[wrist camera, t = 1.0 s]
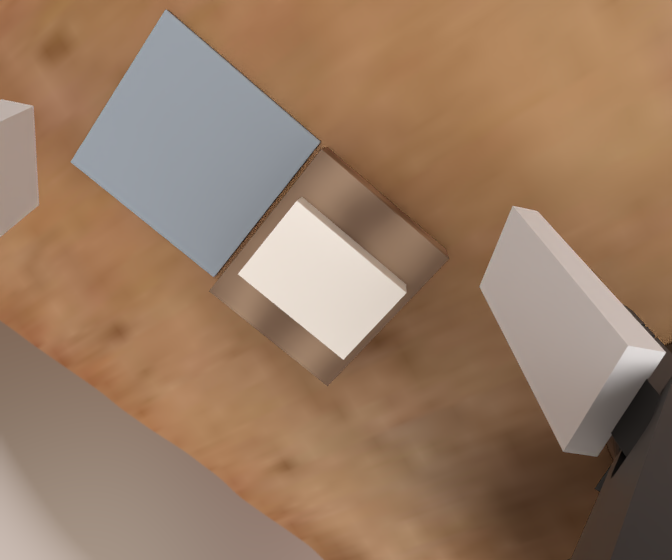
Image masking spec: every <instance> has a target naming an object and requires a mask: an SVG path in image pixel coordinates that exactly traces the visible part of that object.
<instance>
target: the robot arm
mask: <svg viewBox="0 0 672 560" xmlns="http://www.w3.org/2000/svg"><path fill="white" fill-rule="evenodd" d="M38 205H39V195H38V177H37V159H36V140H35V122H34V106H31V105H26V104H22V103H17V102H12V101H7V100H0V237H1V236H2V235H3V234H5V233H6V232H7V231H8V230H9V229H11V228H12V227H13V226H14V225H15V224H17V223H18V222H19V221H20V220H21V219H23V218H24V217H25V216H26V215H27V214H29V213H30V212H31V211H32V210H34V209H35V208H36V207H37V206H38ZM479 287H480V289H481V291H482V293H483V295H484V297H485V299H486V301H487V303H488V304H489V306H490V308H491V310H492V312H493V314H494V316H495V318H496V320H497V322H498V324H499V326H500V328H501V330H502V332H503V334H504V336H505V338H506V340H507V342H508V344H509V346H510V348H511V350H512V352H513V354H514V356H515V358H516V360H517V362H518V364H519V366H520V368H521V370H522V372H523V373H524V375H525V377H526V379H527V381H528V383H529V385H530V387H531V389H532V391H533V393H534V395H535V397H536V399H537V401H538V403H539V405H540V407H541V409H542V411H543V413H544V415H545V417H546V419H547V421H548V423H549V425H550V427H551V429H552V431H553V433H554V435H555V437H556V439H557V440H558V442H559V444H560V446H561V448H562V450H563V452H568V453H575V454H582V455H588V456H595V457H598V455H599V454H600V452H601V450H602V449H603V447H604V446H605V444H606V443H607V446H608V450H609V452H610V454H611V456H612V458H613V460H614V461H613V463H612V464H611V466H610V467H609V469H608V470H607V472H606V473H605V475H604V476H603V477H602V479H601V480H600V482H599V483H598V485H597V486H596V488H595V489H596V490H598V491H599V492H600V493H599V495H598V497H597V500H596V502H595V504H594V507H593V509H592V511H591V514H590V516H589V518H588V521H587V523H586V525H585V527H584V530H583V532H582V534H581V537H580V539H579V541H578V544H577V546H576V548H575V551H574V553H573V555H572V558H570V559H568V560H672V344H669V345H667V346H664V344H663V343H662V342H661V341H660V340H659V339H658V338H655V335H654V334H653V333H652V331H651V330H650V329H649V328H648V327H645V324H644V323H643V322H642V321H641V320H640V318H639V317H638V316H637V315H636V314H635V313H634V312H633V311H632V310H630V309H629V308H628V307H626V306H625V305H623V304H622V303H621V302H620V301H619V300H618V299H617V298H616V297H615V296H614V295H613V293H612V292H611V291H610V290H609V289H608V288H607V287H606V286H605V285H604V284H603V282H602V281H601V280H600V279H599V278H598V277H597V276H596V275H595V274H594V273H593V271H592V270H591V269H590V268H589V267H588V266H587V265H586V264H585V263H584V262H583V260H582V259H581V258H580V257H579V256H578V255H577V254H576V253H575V252H574V251H573V250H572V248H571V247H570V246H569V245H568V244H567V243H566V242H565V241H564V240H563V239H562V237H561V236H560V235H559V234H558V233H557V232H556V231H555V230H554V229H553V228H552V226H551V225H550V224H549V223H548V222H547V221H546V220H545V219H544V218H543V217H542V215H541V214H540V213H539V212H538V211H535V210H530V209H526V208H521V207H516V206H512V209H511V211H510V214H509V216H508V219H507V221H506V223H505V226H504V228H503V231H502V233H501V235H500V238H499V240H498V243H497V245H496V248H495V250H494V252H493V255H492V257H491V260H490V262H489V265H488V267H487V269H486V272H485V274H484V277H483V279H482V282H481V284H480V286H479Z"/></svg>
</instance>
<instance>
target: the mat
mask: <svg viewBox="0 0 672 560" xmlns="http://www.w3.org/2000/svg"><path fill="white" fill-rule="evenodd" d="M320 142H321V141H320V140H318V139H317V138H316V137H315V136H314V135H313V134H311V133H310V132H309V131H308V130H307V129H306V128H304V127H303V126H302V125H301V124H300V123H299V122H297V121H296V120H295V119H294V118H293V117H292V116H291V115H289V114H288V113H287V112H286V111H285V110H284V109H282V108H281V107H280V106H279V105H278V104H277V103H275V102H274V101H273V100H272V99H271V98H270V97H268V96H267V95H266V94H265V93H264V92H263V91H261V90H260V89H259V88H258V87H257V86H256V85H254V84H253V83H252V82H251V81H250V80H249V79H247V78H246V77H245V76H244V75H243V74H242V73H241V72H239V71H238V70H237V69H236V68H235V67H234V66H232V65H231V64H230V63H229V62H228V61H227V60H225V59H224V58H223V57H222V56H221V55H220V54H218V53H217V52H216V51H215V50H214V49H213V48H211V47H210V46H209V45H208V44H207V43H206V42H204V41H203V40H202V39H201V38H200V37H199V36H197V35H196V34H195V33H194V32H193V31H192V30H190V29H189V28H188V27H187V26H186V25H185V24H184V23H182V22H181V21H180V20H179V19H178V18H177V17H175V16H174V15H173V14H172V13H171V12H170V11H168V10H165V11H164V13H163V14H162V16H161V18H160V19H159V21H158V22H157V24H156V26H155V27H154V29H153V31H152V32H151V34H150V35H149V37H148V39H147V40H146V42H145V43H144V45H143V47H142V48H141V50H140V51H139V53H138V55H137V56H136V58H135V59H134V61H133V63H132V64H131V66H130V67H129V69H128V71H127V72H126V74H125V75H124V77H123V79H122V80H121V82H120V84H119V85H118V87H117V88H116V90H115V92H114V93H113V95H112V96H111V98H110V100H109V101H108V103H107V104H106V106H105V108H104V109H103V111H102V112H101V114H100V116H99V117H98V119H97V120H96V122H95V124H94V125H93V127H92V128H91V130H90V132H89V133H88V135H87V137H86V138H85V140H84V141H83V143H82V145H81V146H80V148H79V149H78V151H77V153H76V154H75V156H74V157H73V159H72V161H71V163H73V164H74V165H75V166H76V167H78V168H79V169H80V170H81V171H83V172H84V173H85V174H86V175H87V176H89V177H90V178H91V179H92V180H94V181H95V182H96V183H97V184H99V185H100V186H101V187H102V188H104V189H105V190H106V191H107V192H109V193H110V194H111V195H112V196H114V197H115V198H116V199H117V200H118V201H120V202H121V203H122V204H123V205H125V206H126V207H127V208H128V209H130V210H131V211H132V212H133V213H135V214H136V215H137V216H138V217H140V218H141V219H142V220H143V221H145V222H146V223H147V224H148V225H150V226H151V227H152V228H153V229H154V230H156V231H157V232H158V233H159V234H161V235H162V236H163V237H164V238H166V239H167V240H168V241H169V242H171V243H172V244H173V245H174V246H176V247H177V248H178V249H179V250H181V251H182V252H183V253H184V254H185V255H187V256H188V257H189V258H190V259H192V260H193V261H194V262H195V263H197V264H198V265H199V266H200V267H202V268H203V269H204V270H205V271H207V272H208V273H209V274H210V275H212V276H213V277H215V276H216V275H217V273H218V272H219V271H220V269H221V268H222V267H223V266H224V264H225V263H226V262H227V261H228V259H229V258H230V257H231V255H232V254H233V253H234V252H235V250H236V249H237V248H238V247H239V245H240V244H241V243H242V242H243V240H244V239H245V238H246V236H247V235H248V234H249V233H250V231H251V230H252V229H253V228H254V226H255V225H256V224H257V222H258V221H259V220H260V219H261V217H262V216H263V215H264V214H265V212H266V211H267V210H268V209H269V207H270V206H271V205H272V203H273V202H274V201H275V200H276V198H277V197H278V196H279V195H280V193H281V192H282V191H283V189H284V188H285V187H286V186H287V184H288V183H289V182H290V181H291V179H292V178H293V177H294V175H295V174H296V173H297V172H298V170H299V169H300V168H301V167H302V165H303V164H304V163H305V162H306V160H307V159H308V158H309V156H310V155H311V154H312V153H313V151H314V150H315V149H316V148H317V146H318V145H319V144H320Z"/></svg>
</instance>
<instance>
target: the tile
mask: <svg viewBox="0 0 672 560" xmlns="http://www.w3.org/2000/svg"><path fill="white" fill-rule="evenodd" d="M238 275H239V276H241V277H242V278H243V279H244V280H246V281H247V282H248V283H249V284H251V285H252V286H253V287H254V288H255V289H257V290H258V291H259V292H260V293H262V294H263V295H264V296H265V297H267V298H268V299H269V300H270V301H271V302H273V303H274V304H275V305H276V306H278V307H279V308H280V309H281V310H283V311H284V312H285V313H286V314H288V315H289V316H290V317H291V318H292V319H294V320H295V321H296V322H297V323H299V324H300V325H301V326H302V327H304V328H305V329H306V330H307V331H308V332H310V333H311V334H312V335H313V336H315V337H316V338H317V339H318V340H320V341H321V342H322V343H323V344H324V345H326V346H327V347H328V348H329V349H331V350H332V351H333V352H334V353H336V354H337V355H338V356H339V357H341V358H342V359H343V360H344V359H345V357H346V356H347V355H348V354H349V353H350V352H351V351H352V350H353V349H354V348H355V347H356V346H357V345H358V344H359V343H360V342H361V341H362V339H363V338H364V337H365V336H366V335H367V334H368V333H369V332H370V331H371V330H372V329H373V328H374V327H375V326H376V325H377V324H378V323H379V322H380V320H381V319H382V318H383V317H384V316H385V315H386V314H387V313H388V312H389V311H390V310H391V309H392V308H393V307H394V306H395V305H396V304H397V302H398V301H399V300H400V299H401V298H402V297H403V296H404V295H405V294H406V293H407V291H406V284H405V283H404V282H403V281H402V280H400V279H399V278H398V277H397V276H396V275H394V274H393V273H392V272H391V271H390V270H388V269H387V268H386V267H385V266H384V265H383V264H381V263H380V262H379V261H378V260H377V259H375V258H374V257H373V256H372V255H371V254H369V253H368V252H367V251H366V250H365V249H364V248H362V247H361V246H360V245H359V244H358V243H356V242H355V241H354V240H353V239H352V238H350V237H349V236H348V235H347V234H346V233H345V232H343V231H342V230H341V229H340V228H339V227H337V226H336V225H335V224H334V223H333V222H331V221H330V220H329V219H328V218H327V217H326V216H324V215H323V214H322V213H321V212H320V211H318V210H317V209H316V208H315V207H314V206H313V205H311V204H310V203H309V202H308V201H307V200H305V199H304V198H303V197H301V198H300V199H298V200H297V201H296V202H295V204H294V205H293V206H292V207H291V208H290V210H289V211H288V212H287V213H286V215H285V216H284V217H283V218H282V220H281V221H280V222H279V223H278V225H277V226H276V227H275V228H274V230H273V231H272V232H271V233H270V235H269V236H268V237H267V238H266V240H265V241H264V242H263V243H262V245H261V246H260V247H259V248H258V250H257V251H256V252H255V253H254V255H253V256H252V257H251V258H250V260H249V261H248V262H247V263H246V264H245V266H244V267H243V268H242V269H241V271H240V272H239V273H238Z"/></svg>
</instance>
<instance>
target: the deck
mask: <svg viewBox="0 0 672 560" xmlns="http://www.w3.org/2000/svg"><path fill="white" fill-rule="evenodd" d="M301 197H303V198H304V199H305V200H307V201H308V202H309V203H310V204H311V205H313V206H314V207H315V208H316V209H317V210H318V211H320V212H321V213H322V214H323V215H324V216H326V217H327V218H328V219H329V220H330V221H331V222H333V223H334V224H335V225H336V226H337V227H339V228H340V229H341V230H342V231H343V232H345V233H346V234H347V235H348V236H349V237H350V238H352V239H353V240H354V241H355V242H356V243H358V244H359V245H360V246H361V247H362V248H364V249H365V250H366V251H367V252H368V253H369V254H371V255H372V256H373V257H374V258H375V259H377V260H378V261H379V262H380V263H381V264H383V265H384V266H385V267H386V268H387V269H388V270H390V271H391V272H392V273H393V274H394V275H396V276H397V277H398V278H399V279H400V280H402V281H403V282H404V283H405V284H406V291H407V293H406V294H405V295H404V296H403V297H402V298H401V299H400V300H399V301H398V302H397V304H396V305H395V306H394V307H393V308H392V309H391V310H390V311H389V312H388V313H387V314H386V315H385V316H384V317H383V318H382V319H381V320H380V322H379V323H378V324H377V325H376V326H375V327H374V328H373V329H372V330H371V331H370V332H369V333H368V334H367V335H366V336H365V337H364V338H363V339H362V341H361V342H360V343H359V344H358V345H357V346H356V347H355V348H354V349H353V350H352V351H351V352H350V353H349V354H348V355H347V356H346V357H345V359H344V360H343V359H342V358H341V357H339V356H338V355H337V354H336V353H334V352H333V351H332V350H331V349H329V348H328V347H327V346H326V345H324V344H323V343H322V342H321V341H320V340H318V339H317V338H316V337H315V336H313V335H312V334H311V333H310V332H308V331H307V330H306V329H305V328H304V327H302V326H301V325H300V324H299V323H297V322H296V321H295V320H294V319H292V318H291V317H290V316H289V315H288V314H286V313H285V312H284V311H283V310H281V309H280V308H279V307H278V306H276V305H275V304H274V303H273V302H271V301H270V300H269V299H268V298H267V297H265V296H264V295H263V294H262V293H260V292H259V291H258V290H257V289H255V288H254V287H253V286H252V285H251V284H249V283H248V282H247V281H246V280H244V279H243V278H242V277H241V276H239V275H238V273H239V272H240V271H241V269H242V268H243V267H244V266H245V264H246V263H247V262H248V261H249V260H250V258H251V257H252V256H253V255H254V253H255V252H256V251H257V250H258V248H259V247H260V246H261V245H262V243H263V242H264V241H265V240H266V238H267V237H268V236H269V235H270V233H271V232H272V231H273V230H274V228H275V227H276V226H277V225H278V223H279V222H280V221H281V220H282V218H283V217H284V216H285V215H286V213H287V212H288V211H289V210H290V208H291V207H292V206H293V205H294V204H295V202H296V201H297V200H298V199H300V198H301ZM448 259H449V257H448V254H447V251H446V249H445V248H444V247H443V246H442V245H441V244H439V243H438V242H437V241H436V240H435V239H434V238H432V237H431V236H430V235H429V234H428V233H427V232H425V231H424V230H423V229H422V228H421V227H420V226H418V225H417V224H416V223H415V222H414V221H413V220H411V219H410V218H409V217H408V216H407V215H406V214H405V213H403V212H402V211H401V210H400V209H399V208H398V207H396V206H395V205H394V204H393V203H392V202H391V201H389V200H388V199H387V198H386V197H385V196H384V195H382V194H381V193H380V192H379V191H378V190H377V189H375V188H374V187H373V186H372V185H371V184H370V183H368V182H367V181H366V180H365V179H364V178H363V177H361V176H360V175H359V174H358V173H357V172H356V171H354V170H353V169H352V168H351V167H350V166H349V165H348V164H346V163H345V162H344V161H343V160H342V159H341V158H339V157H338V156H337V155H336V154H335V153H334V152H332V151H331V150H330V149H329V148H328V147H326V148H323V149H321V151H320V152H319V153H318V154H317V156H316V157H315V158H314V159H313V161H312V162H311V163H310V164H309V166H308V167H307V168H306V169H305V171H304V172H303V173H302V175H301V176H300V177H299V178H298V180H297V181H296V182H295V183H294V185H293V186H292V187H291V188H290V190H289V191H288V192H287V193H286V195H285V196H284V197H283V199H282V200H281V201H280V202H279V204H278V205H277V206H276V207H275V209H274V210H273V211H272V212H271V214H270V215H269V216H268V217H267V219H266V220H265V221H264V223H263V224H262V225H261V226H260V228H259V229H258V230H257V231H256V233H255V234H254V235H253V236H252V238H251V239H250V240H249V241H248V243H247V244H246V245H245V247H244V248H243V249H242V250H241V252H240V253H239V254H238V255H237V257H236V258H235V259H234V260H233V262H232V263H231V264H230V265H229V267H228V268H227V269H226V271H225V272H224V273H223V274H222V276H221V277H220V278H219V279H218V281H217V282H216V283H215V284H214V286H213V287H212V288H211V289H210V291H209V292H211V293H212V294H213V295H214V296H216V297H217V298H218V299H219V300H221V301H222V302H223V303H224V304H226V305H227V306H228V307H229V308H231V309H232V310H233V311H234V312H236V313H237V314H238V315H239V316H241V317H242V318H243V319H244V320H246V321H247V322H248V323H249V324H251V325H252V326H253V327H254V328H256V329H257V330H258V331H259V332H261V333H262V334H263V335H264V336H266V337H267V338H268V339H269V340H271V341H272V342H273V343H274V344H276V345H277V346H278V347H279V348H280V349H282V350H283V351H284V352H285V353H287V354H288V355H289V356H290V357H292V358H293V359H294V360H295V361H297V362H298V363H299V364H300V365H302V366H303V367H304V368H305V369H307V370H308V371H309V372H310V373H312V374H313V375H314V376H315V377H317V378H318V379H319V380H320V381H322V382H323V383H324V384H325V385H327V386H328V385H329V384H330V383H331V382H332V381H333V380H334V379H335V378H336V377H337V376H338V375H339V374H340V373H341V372H342V371H343V370H344V368H345V367H346V366H347V365H348V364H349V363H350V362H351V361H352V360H353V359H354V358H355V357H356V356H357V355H358V354H359V353H360V352H361V351H362V350H363V349H364V348H365V346H366V345H367V344H368V343H369V342H370V341H371V340H372V339H373V338H374V337H375V336H376V335H377V334H378V333H379V332H380V331H381V330H382V329H383V328H384V327H385V325H386V324H387V323H388V322H389V321H390V320H391V319H392V318H393V317H394V316H395V315H396V314H397V313H398V312H399V311H400V310H401V309H402V308H403V307H404V306H405V305H406V303H407V302H408V301H409V300H410V299H411V298H412V297H413V296H414V295H415V294H416V293H417V292H418V291H419V290H420V289H421V288H422V287H423V286H424V285H425V284H426V282H427V281H428V280H429V279H430V278H431V277H432V276H433V275H434V274H435V273H436V272H437V271H438V270H439V269H440V268H441V267H442V266H443V265H444V264H445V263H446V262H447V260H448Z"/></svg>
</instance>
